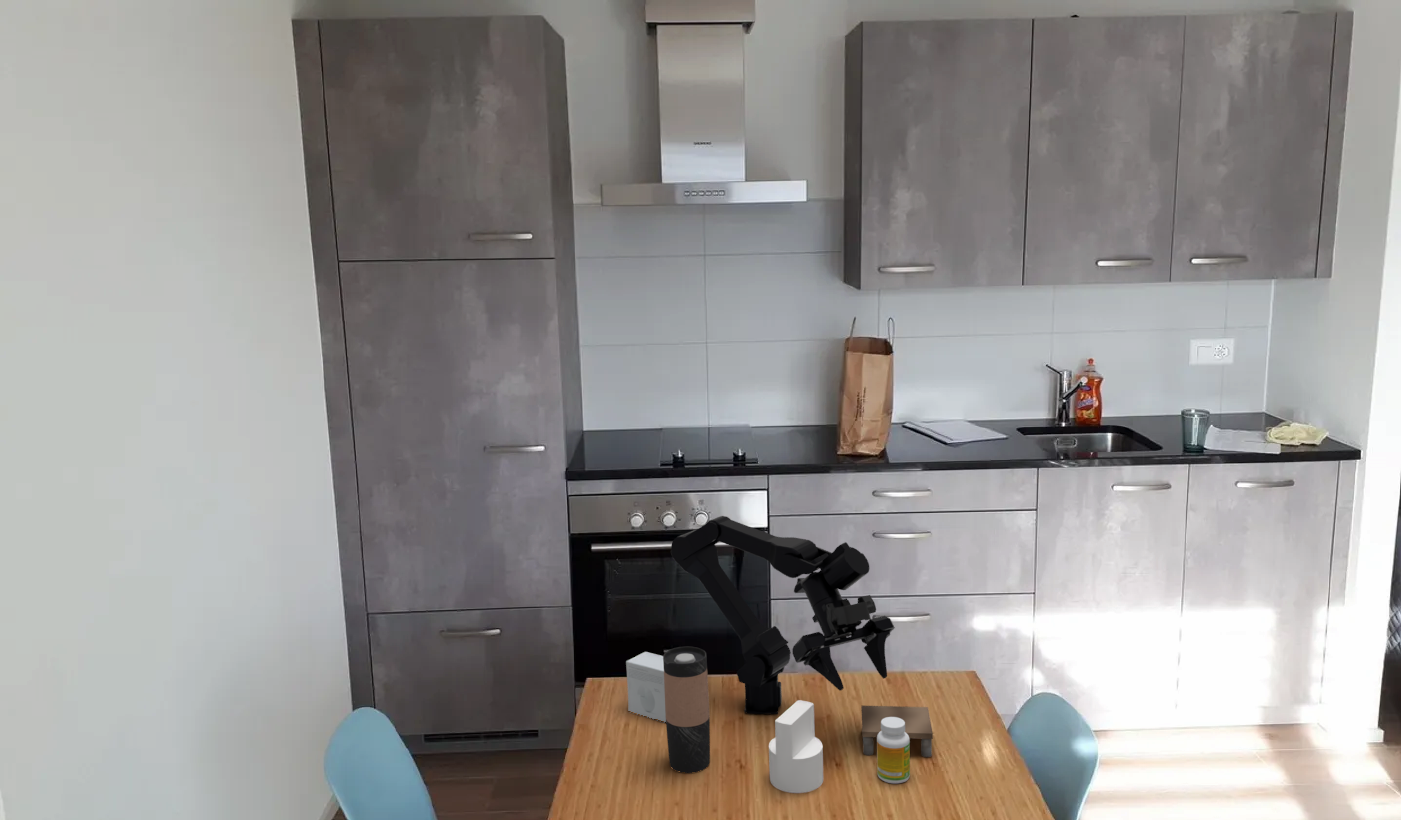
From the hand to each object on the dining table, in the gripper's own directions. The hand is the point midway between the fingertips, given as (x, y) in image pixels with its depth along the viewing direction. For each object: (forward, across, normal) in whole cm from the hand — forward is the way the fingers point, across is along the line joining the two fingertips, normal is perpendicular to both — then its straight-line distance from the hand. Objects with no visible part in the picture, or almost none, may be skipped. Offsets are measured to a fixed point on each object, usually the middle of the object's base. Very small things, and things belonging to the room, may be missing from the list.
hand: (863, 683), depth 175 cm
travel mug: (0, -27, +19) cm, 34 cm away
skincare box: (-14, -24, +34) cm, 44 cm away
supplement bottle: (+15, 0, +4) cm, 16 cm away
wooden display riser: (+9, +8, +10) cm, 15 cm away
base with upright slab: (+10, -14, +9) cm, 20 cm away
